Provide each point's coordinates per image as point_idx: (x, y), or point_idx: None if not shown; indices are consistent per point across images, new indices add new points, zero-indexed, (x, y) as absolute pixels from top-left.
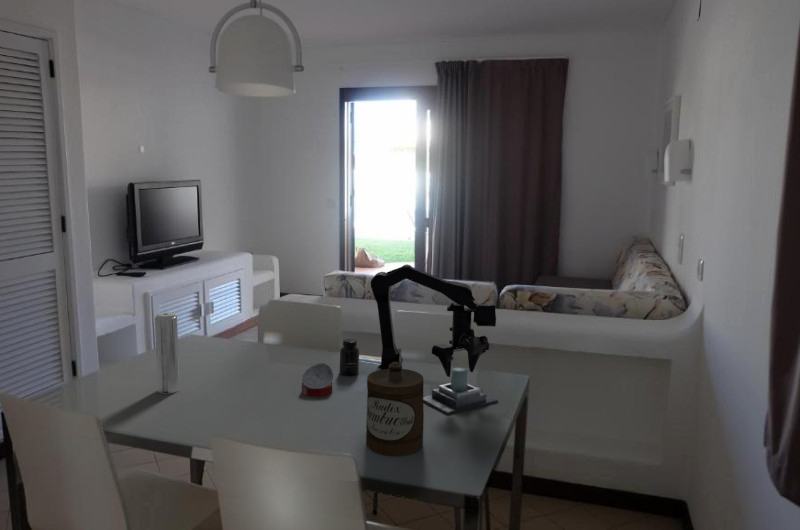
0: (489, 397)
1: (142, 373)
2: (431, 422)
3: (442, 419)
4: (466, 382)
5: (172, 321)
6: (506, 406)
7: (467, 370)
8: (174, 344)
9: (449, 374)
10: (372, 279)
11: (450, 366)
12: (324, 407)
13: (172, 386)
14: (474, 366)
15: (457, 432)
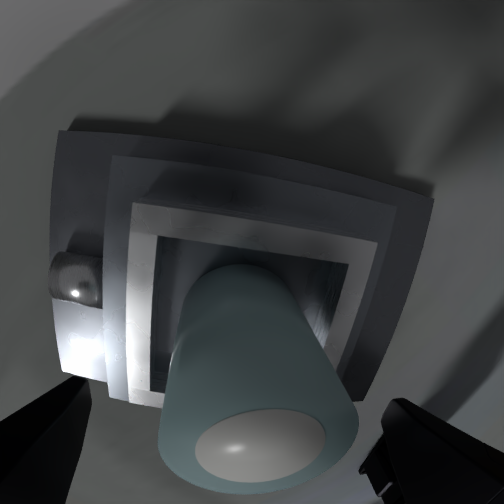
0: (67, 187)
1: None
2: (497, 196)
3: (465, 182)
4: (226, 305)
5: None
6: (85, 58)
7: (183, 406)
8: None
9: (417, 409)
10: None
11: (472, 457)
12: (494, 422)
13: None
14: (37, 407)
15: (492, 72)
